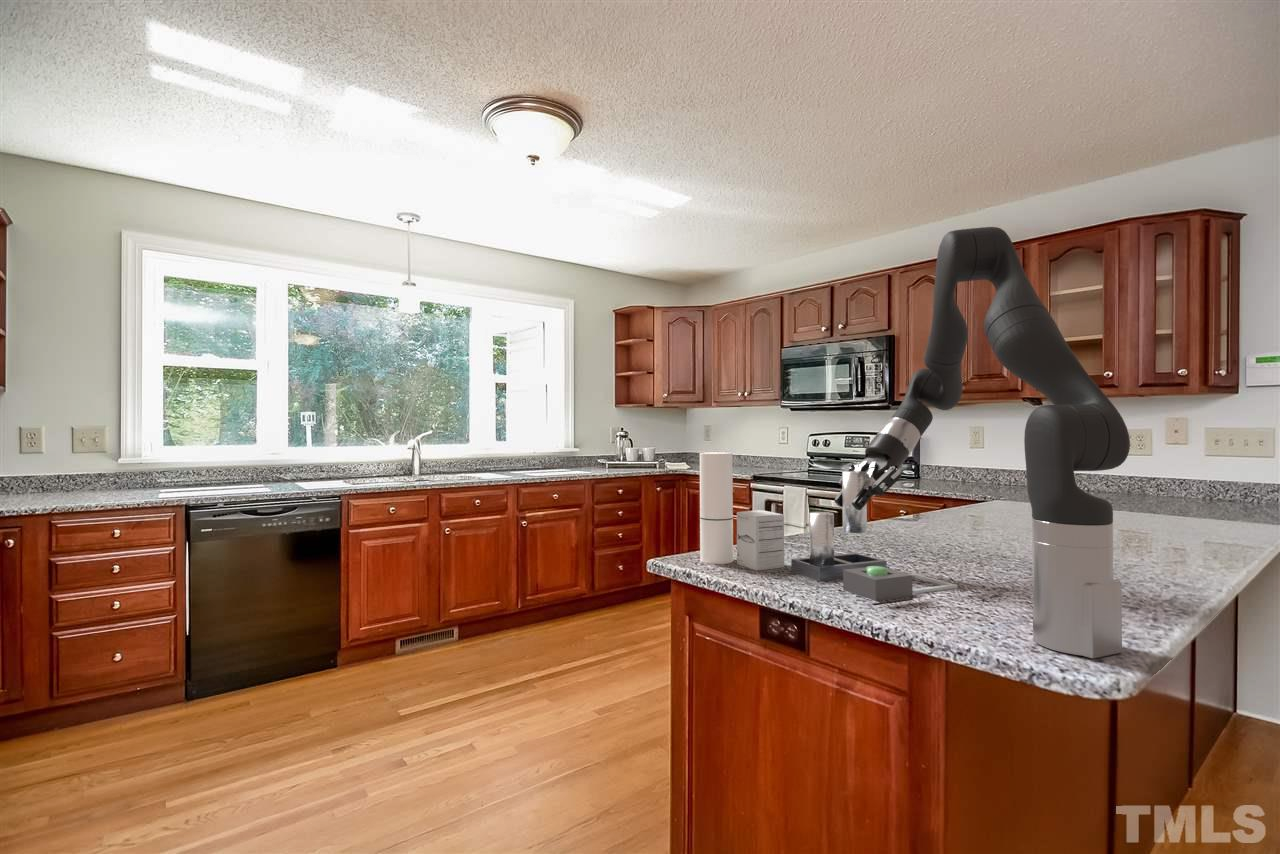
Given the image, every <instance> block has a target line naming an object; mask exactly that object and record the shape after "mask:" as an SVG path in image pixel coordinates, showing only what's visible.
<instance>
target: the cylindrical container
mask: <svg viewBox="0 0 1280 854" xmlns="http://www.w3.org/2000/svg"><path fill="white" fill-rule="evenodd" d="M733 464H734V463H733V452H719V451H717V452H716V451H715V452H700V453H699V549H700V550H699V551H700V552H699V553H700V554H699V556H700V557H699V558H700V559H699V560H700V563H704V564H711V565H712V564H713V565H725V564H726V565H727V564H731V563H733V562H734V519H733V518H734V510H733V509H734V506H733V504H734V492H733V491H734V490H733V489H734V487H733V485H734V484H733V483H734V481H733V479H734V477H733V475H734V473H733Z"/></svg>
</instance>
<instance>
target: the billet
mask: <svg viewBox="0 0 1280 854" xmlns="http://www.w3.org/2000/svg"><path fill="white" fill-rule="evenodd" d="M841 477H842V486H841V490H842V504H843V507H842V532H843V533H850V534H863V533H864V534H866V533H867V532H868V527H867V526H868V524H867V523H868V519H867V517H868V516H867V515H868V513H867V512H868V511H867V508H868V507H867V506H868V505H867V503H868V502H867V503H866V504H865V506H864V507H863V508H862V509H861V510H856V509H855V507H854V506H853V505H852V501H853V500H854V499H855V497H856V496H857V495H858V493H859V492H860V491H861V490H864V485H865V483H866V472H865V471H845V470H843V471H841Z"/></svg>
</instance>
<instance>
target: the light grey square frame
mask: <svg viewBox="0 0 1280 854" xmlns="http://www.w3.org/2000/svg"><path fill="white" fill-rule="evenodd" d="M908 574H909V575H912V579H913V578H916V579H919V580H923V581H926V582H930V583H933V584H936V585H935V586H927V587H921V588H920V587H919V588H913V587H912V590H913V595H915V594H922V593H923V594H925V593H930V592H937V591H946V590H953V589H954V590H955V589H958V584H954V583H952V582H947V581H944V580H940V579H937V578H933V577H929V576H926V575H923V574H918V573H914V572H912V573H908Z"/></svg>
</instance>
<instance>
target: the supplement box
mask: <svg viewBox="0 0 1280 854" xmlns="http://www.w3.org/2000/svg"><path fill="white" fill-rule="evenodd" d="M736 565H739V566H741V567H745V568H748V569H750V570H754V571H762V570H763V571H764V570H771V569H777V568H784V567H785V514H784V513H783V514H782V513H778V512H773V511H768V510H763V509H758V510H747V511H737V512H736Z"/></svg>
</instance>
